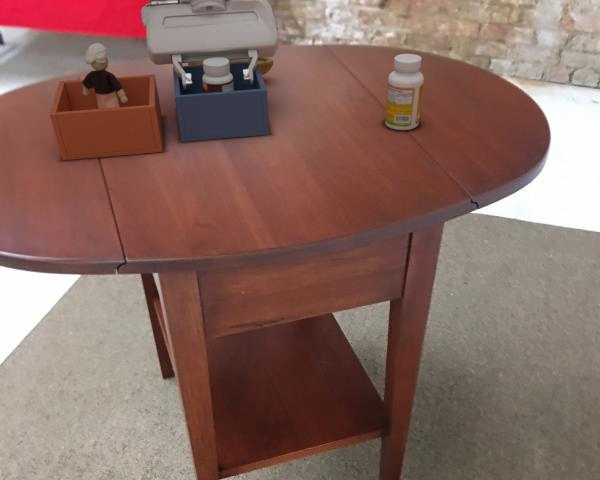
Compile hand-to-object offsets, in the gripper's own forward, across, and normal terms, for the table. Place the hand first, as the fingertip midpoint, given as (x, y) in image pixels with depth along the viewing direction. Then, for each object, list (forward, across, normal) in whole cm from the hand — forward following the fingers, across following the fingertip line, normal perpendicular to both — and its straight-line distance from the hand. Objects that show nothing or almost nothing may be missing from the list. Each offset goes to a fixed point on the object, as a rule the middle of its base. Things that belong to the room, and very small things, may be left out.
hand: (218, 85), depth 98 cm
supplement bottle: (+9, +28, 0) cm, 29 cm away
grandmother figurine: (+5, -17, +2) cm, 18 cm away
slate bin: (+4, 0, +4) cm, 6 cm away
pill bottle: (+3, 0, +4) cm, 5 cm away
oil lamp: (-10, +3, +18) cm, 21 cm away
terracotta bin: (+6, -17, +2) cm, 18 cm away
